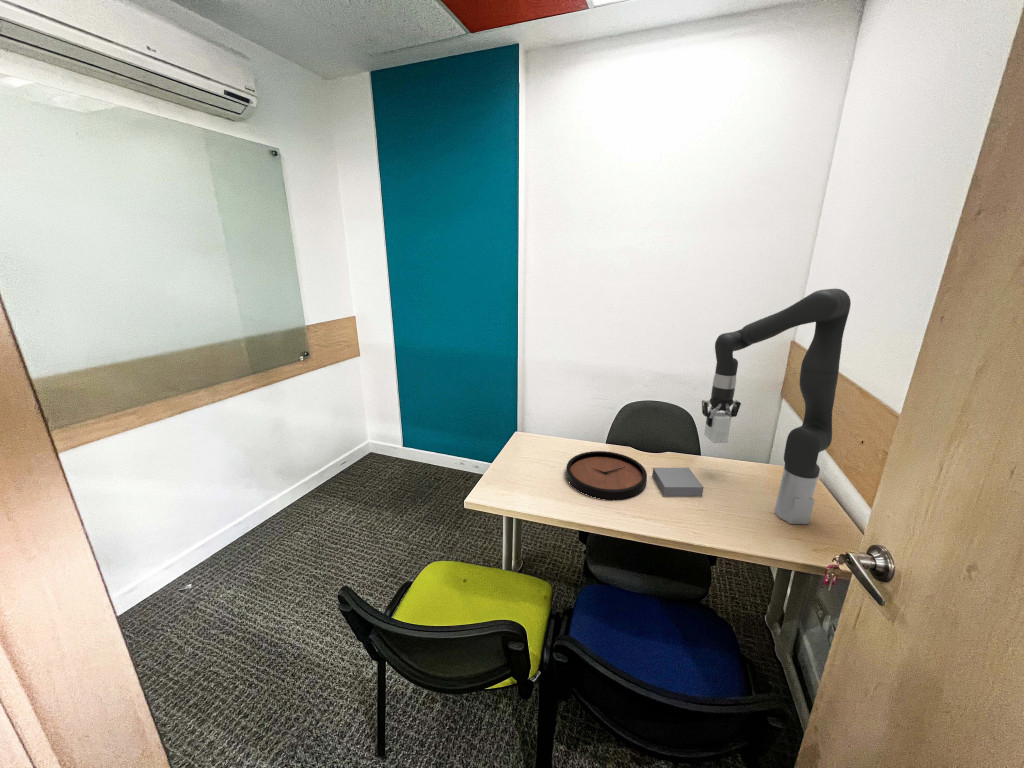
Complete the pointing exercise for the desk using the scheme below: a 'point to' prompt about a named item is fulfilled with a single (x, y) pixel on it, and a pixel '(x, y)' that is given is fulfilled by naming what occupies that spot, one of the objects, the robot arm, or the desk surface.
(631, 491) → the wall clock
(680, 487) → the base block
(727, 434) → the small box
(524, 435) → the desk surface
